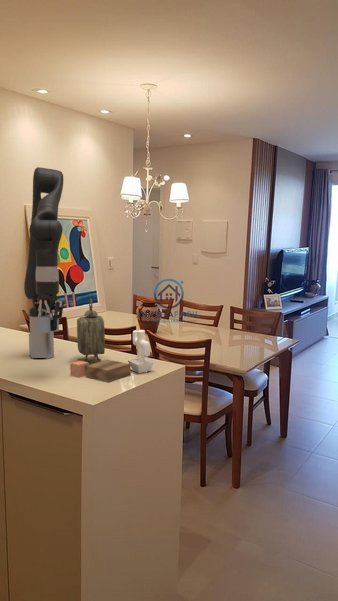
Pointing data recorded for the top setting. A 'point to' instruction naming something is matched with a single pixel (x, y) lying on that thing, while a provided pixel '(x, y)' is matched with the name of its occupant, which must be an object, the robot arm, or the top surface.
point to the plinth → (108, 370)
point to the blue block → (45, 324)
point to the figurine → (141, 353)
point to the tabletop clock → (91, 334)
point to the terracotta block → (78, 368)
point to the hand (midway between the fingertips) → (48, 329)
